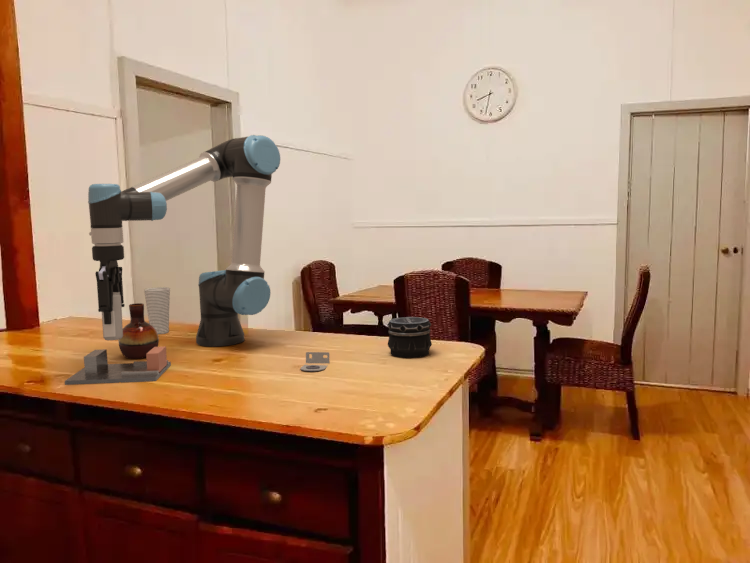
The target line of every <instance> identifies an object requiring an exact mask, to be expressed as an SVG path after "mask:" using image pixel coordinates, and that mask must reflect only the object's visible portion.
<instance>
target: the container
mask: <svg viewBox="0 0 750 563" xmlns="http://www.w3.org/2000/svg"><path fill="white" fill-rule="evenodd" d="M431 326H432V323H431V322H430V320H429V319H428V318H425V317H419V316H418V317H416V316H406V317H405V316H404V317H396V318H395V317H394V318H391V319H390V320H389V322H388V323H387V326H386V327H387V328H388V335H389V336H388V342H387V347H388V349H389V350H390V355H391V357H392V356H393V357H396V358H405V359H416V358H422V357H425V356H428V355H430V349H431V346H432V340H431V335H430V334H431Z"/></svg>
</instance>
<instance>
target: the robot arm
mask: <svg viewBox="0 0 750 563" xmlns="http://www.w3.org/2000/svg"><path fill="white" fill-rule="evenodd" d="M280 164H281V154H280V149H279V148H278V146H277V145H276V142H274V140H272V139H271V138H270V137H268V136H265V135H255V134H253V135H252V134H251V135H249V136H244V137H237V138H231V139H228V140H225V141H224V142H221V143H220V144H217V145H215V146H214V147H211V148H210V149H207V150H205V151H203V152H201V153H200V154H199V156H198V158H196V159H193V160H191V161H188V162H186V163H184V164H182V165H179V166H177V167H175V168H173V169H171V170H167V171H165V172H164V173H161V174H159V175H158V174H157V175H156V176H154V177H152V178H150V179H147V180H145V181H142V182H140V183H138V184H135V185H134V186H131V187H128V188H126V189H124V190H121V187H120V185H119V184H118V183H93V184H91V185H89V187H88V191H87V192H88V194H87V195H88V196H87V197H88V198H87V199H88V201H87V203H88V212H89V221H90V222H89V224H90V231H89V233H88V234H89V236H91V238H90V239H91V244H93V246H92V247H91V251H92V252H91V254H92V257H91V258H92V261H95V262H99V268H98V271H95V275H94V276H95V278H96V286H97V287H96V288H97V303H98V309H97V310H98V313H100V312H101V315H102V314H103V325H102V330H103V329H104V337H115V336H116V330H115V314H114V311H112V310H113V292H120V295H121V307H122V308H125V302H124V288H123V285H124V284H123V267H122V266H119V264H118V261H122V260H124V259H125V249H124V246H123V245H122V244H123V243H124V229H123V222H128V221H129V222H130V221H131V222H132V221H133V222H135V221H137V222H138V221H143V222H144V221H151V222H153V221H159V220H162V219H164V218H165V217H166V214H167V210H168V208H167V207H168V206H167V205H168V204H167V201H169V200H171V199H173V198H176V197H177V196H180V195H182V194H184V193H186V192H189V191H191V190H193V189H196V188H198V187H200V186H202V185H203V184H206V183H208V182H210V181H211V182H212V183H213V182H214V183H216V182H218V181H220V180H223V179H227V178H232V179H231V180H233V182H235V184H236V197H235V208H234V210H235V211H234V225H233V235H232V236H233V239H232V247H231V248H232V250H231V263H230V264H229V265H228V266H227V267H226V268H225V269H224V270H215V271H213V270H212V271H206V272H202V273H200V274H199V277H198V291H199V293H198V294H199V307H200V308H199V310H200V321H199V325H198V329H197V332H196V335H195V336H196V337H195V339H196V340H195V341H196V342H195V343H196V345H198V346H201V347H225V346H232V345H237V344H240V343H243V342H244V341H245V332H244V330H243V327H242V324H241V322H240V319H239V315H241V316H247V315H248V316H253V315H254V316H255V315H257V314H259V313H261V312H262V311H263V310H264V309H265V308H266V307H267V305H268V304H269V302H270V298H271V287H270V285H269V284H268V281H267V280H265V270H264V269H263V268H262V266H261V255H262V246H263V244H262V240H263V230H264V228H263V227H264V215H265V202H266V188H267V187H268V186H269V185H270V184H272V175H273V174H274V173H275V172H277V170H278V169H279V167H280Z"/></svg>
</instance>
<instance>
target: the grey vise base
mask: <svg viewBox="0 0 750 563" xmlns="http://www.w3.org/2000/svg"><path fill="white" fill-rule="evenodd" d="M107 351H108V350H107V349H94V350H92V351H91V352H89V353H88V354H85V356H83V364H84V367H83V368H82V369H80V370H78V371H77V372H76V373H74V374H73V375H71V376H70V377H68V378H66V379H65V380H64V386H65V385H66V386H69V385H91V384H92V385H93V384H114V383H115V384H116V383H118V384H119V382H121V383H142V382H144V383H145V382H157V380H159V378H161V376H162V375H163V374H164V373H165V372H166V371H167V370H168V368H170V367H171V366H172V364H171V363H172V362H171V361H169V360H167V365H166V366H165V367H164V368H163V369H162V370H161V371H160V372H158V370H148V371H147V360H143V361H137V360H136V361H133V362H132V363H131V362H129V363H128V362H127V363H125V362H124V363H109V362H108V352H107Z"/></svg>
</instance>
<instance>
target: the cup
mask: <svg viewBox="0 0 750 563" xmlns="http://www.w3.org/2000/svg"><path fill="white" fill-rule="evenodd" d="M170 292H171V288H170V287H165V286H164V287H161V286H160V287H159V286H158V287H148V288H145V289H143V293H144V298H145V305H146V306H145V307H146V311H147V317H148V323H149V324H151V325H152V326H153V327H154V328H155V329H156V331H157V333H158V335H163V334H168V333H169V332H170V303H171V302H170V301H171V298H170V297H171V293H170Z"/></svg>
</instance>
